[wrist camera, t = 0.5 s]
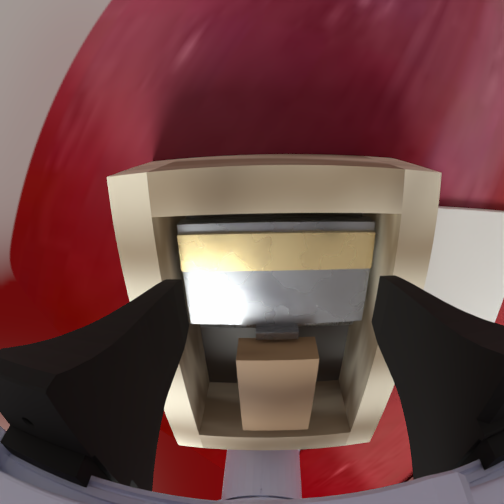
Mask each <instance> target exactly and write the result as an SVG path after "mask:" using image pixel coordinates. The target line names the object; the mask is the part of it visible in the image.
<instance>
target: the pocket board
mask: <svg viewBox="0 0 504 504" xmlns="http://www.w3.org/2000/svg"><path fill="white" fill-rule="evenodd" d="M441 174H442V173H441V172H438V171H435V170H431V169H428V168H425V167H422V166H418V165H415V164H412V163H408V162H405V161H401V160H398V159H394V158H385V157H370V156H352V155H325V154H257V155H230V156H211V157H196V158H184V159H172V160H162V161H152V162H149V163H146V164H143V165H140V166H137V167H134V168H131V169H128V170H125V171H122V172H119V173H117V174H114V175H111V176H108V177H107V183H108V191H109V198H110V205H111V211H112V218H113V224H114V230H115V235H116V241H117V246H118V251H119V256H120V261H121V266H122V270H123V275H124V279H125V284H126V288H127V292H128V296H129V300H130V302H131V301H132V300H134V299H135V298H137V297H138V296H140V295H141V294H143V293H144V292H146V291H147V290H149V289H150V288H152V287H153V286H155V285H156V284H158V283H160V282H161V281H163V280H166V279H182V284H183V291H184V297H185V303H186V309H187V315H188V321H189V330H188V335H187V340H186V344H185V348H184V351H183V354H182V357H181V360H180V362H179V365H178V368H177V371H176V373H175V376H174V379H173V381H172V384H171V387H170V390H169V392H168V396H167V399H166V402H165V406H164V411H165V414H166V416H167V419H168V421H169V424H170V426H171V429H172V431H173V433H174V436H175V438H176V440H177V442H178V445H183V446H191V447H201V448H213V449H229V450H297V449H313V448H325V447H335V446H344V445H352V444H359V443H366V442H370V440H371V437H372V435H373V433H374V431H375V429H376V427H377V425H378V422H379V420H380V418H381V416H382V413H383V411H384V409H385V406H386V404H387V402H388V399H389V397H390V394H391V392H392V389H393V387H394V384H395V383H394V381H393V378H392V376H391V374H390V371H389V369H388V367H387V364H386V362H385V360H384V358H383V355H382V353H381V351H380V348H379V346H378V344H377V340H376V337H375V333H374V330H373V326H372V322H371V321H372V317H373V312H374V306H375V301H376V296H377V290H378V284H379V278H380V276H388V275H395V276H398V277H400V278H402V279H405V280H406V281H408V282H410V283H412V284H414V285H416V286H417V287H419V288H421V289H423V290H424V285H425V281H426V276H427V272H428V267H429V262H430V257H431V252H432V246H433V240H434V234H435V227H436V220H437V213H438V205H439V196H440V186H441ZM277 216H369V217H370V218H371V219H372V220H374V221H375V228H374V232H375V242H374V250H373V258H372V266H371V268H370V271H369V278H368V285H367V291H366V298H365V304H364V309H363V315H362V320H361V321H353V324H352V325H336V326H315V327H298V329H299V337H315V340H316V345H317V349H318V354H319V365H318V372H317V379H316V385H315V392H314V398H313V404H312V410H311V416H310V421H309V427H308V429H303V430H274V431H251V430H243V427H242V417H241V408H240V398H239V388H238V378H237V367H236V355H237V347H238V339H239V338H256V328H212V327H200V325H199V324H191V321H190V315H189V309H188V302H187V296H186V290H185V283H184V276H183V271H182V270H181V263H180V256H179V248H178V240H177V235H178V230H177V224H178V223H179V222H180V221H181V220H182V219H198V218H230V217H277Z"/></svg>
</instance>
